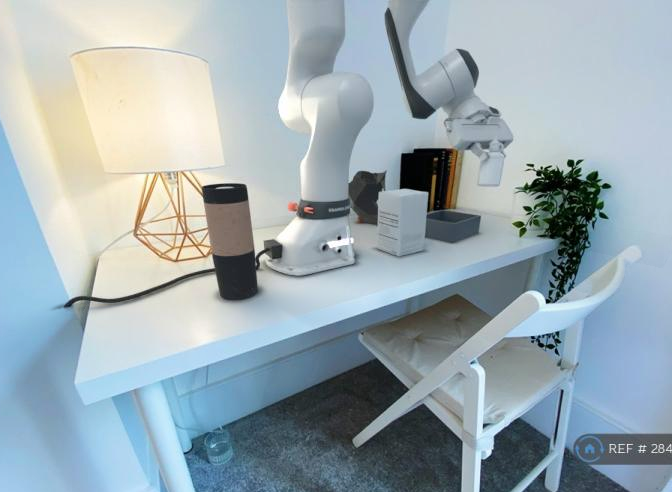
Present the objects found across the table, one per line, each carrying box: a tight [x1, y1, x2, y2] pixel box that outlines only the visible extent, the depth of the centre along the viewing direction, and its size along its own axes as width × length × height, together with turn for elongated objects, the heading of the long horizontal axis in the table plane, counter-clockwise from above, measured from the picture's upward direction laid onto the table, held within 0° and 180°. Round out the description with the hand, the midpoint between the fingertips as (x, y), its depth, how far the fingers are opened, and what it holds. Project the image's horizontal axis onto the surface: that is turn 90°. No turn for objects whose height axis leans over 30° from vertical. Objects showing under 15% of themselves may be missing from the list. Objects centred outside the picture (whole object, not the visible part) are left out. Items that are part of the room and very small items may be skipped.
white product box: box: [376, 188, 429, 258], centre depth 87 cm, size 9×9×15 cm
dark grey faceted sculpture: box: [348, 169, 388, 226], centre depth 115 cm, size 14×15×18 cm
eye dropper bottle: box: [476, 137, 505, 188], centre depth 88 cm, size 4×6×12 cm
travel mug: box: [201, 182, 259, 301], centre depth 62 cm, size 8×8×20 cm
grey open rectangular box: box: [425, 209, 482, 244], centre depth 103 cm, size 15×13×5 cm
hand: (494, 159), depth 88 cm, fingers closed on eye dropper bottle, 5 cm apart
